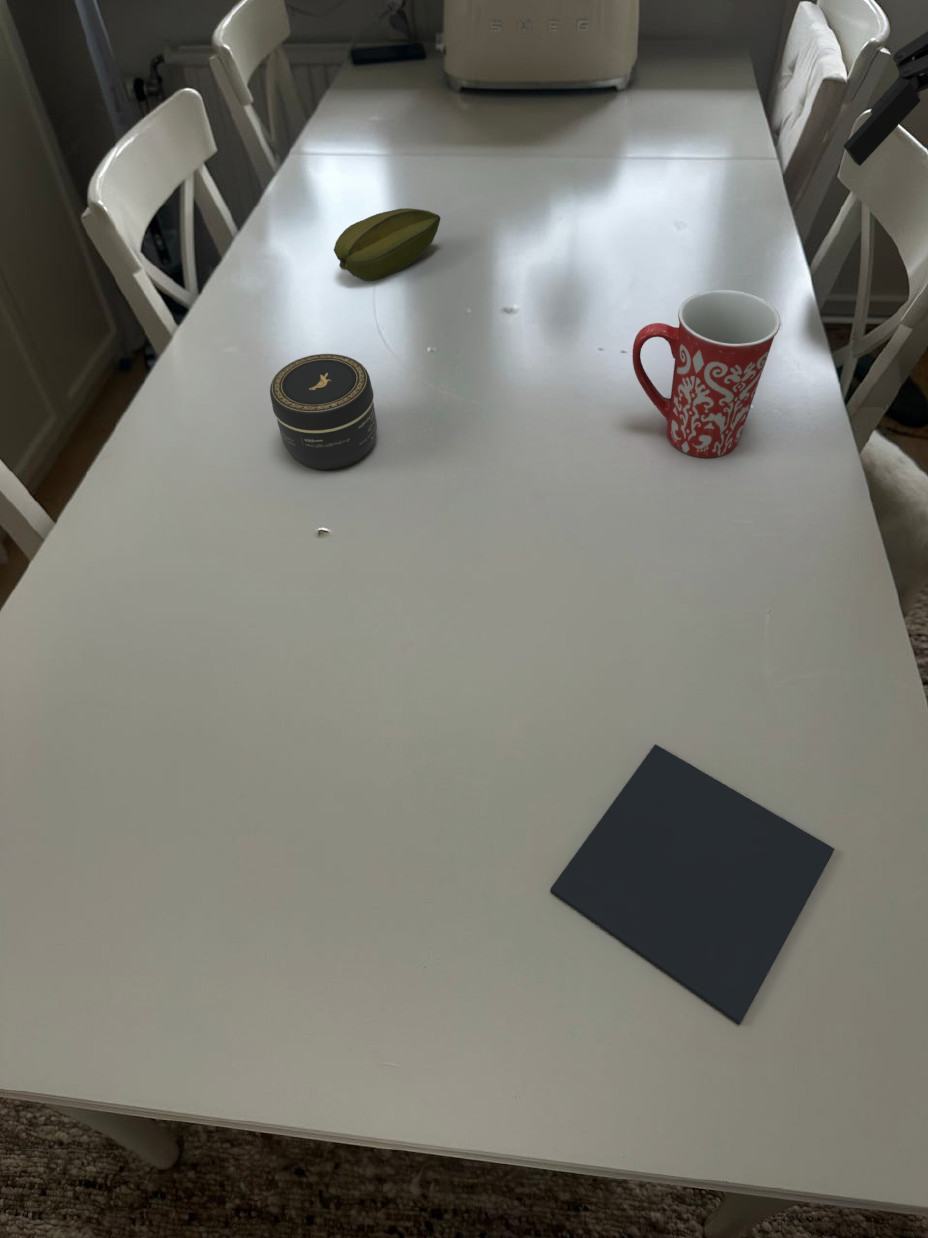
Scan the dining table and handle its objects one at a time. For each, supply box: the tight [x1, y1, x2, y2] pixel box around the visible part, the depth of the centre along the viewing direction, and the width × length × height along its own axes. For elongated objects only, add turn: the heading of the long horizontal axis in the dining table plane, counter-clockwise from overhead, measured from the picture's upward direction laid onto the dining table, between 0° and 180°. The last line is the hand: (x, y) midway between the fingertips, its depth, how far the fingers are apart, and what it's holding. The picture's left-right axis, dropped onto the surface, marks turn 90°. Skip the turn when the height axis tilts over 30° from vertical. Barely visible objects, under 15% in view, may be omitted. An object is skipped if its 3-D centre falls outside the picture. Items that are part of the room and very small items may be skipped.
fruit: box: [333, 207, 441, 281], centre depth 109 cm, size 11×12×7 cm
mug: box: [631, 289, 782, 458], centre depth 83 cm, size 13×9×14 cm
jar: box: [269, 353, 378, 471], centre depth 87 cm, size 10×10×8 cm
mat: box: [549, 743, 835, 1025], centre depth 59 cm, size 14×14×1 cm
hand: (900, 190), depth 74 cm, fingers open, 13 cm apart
